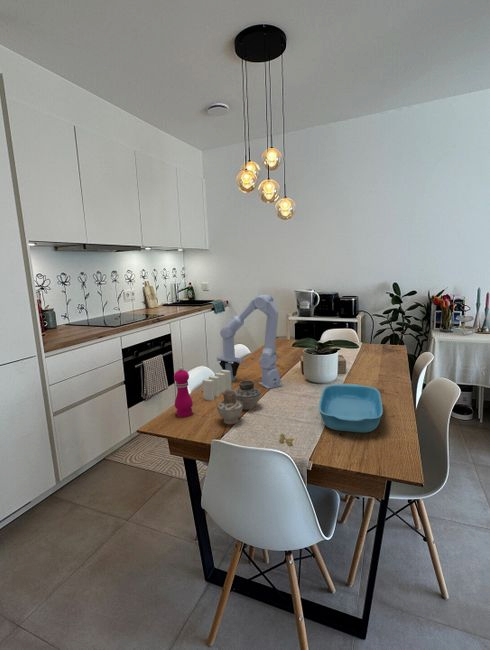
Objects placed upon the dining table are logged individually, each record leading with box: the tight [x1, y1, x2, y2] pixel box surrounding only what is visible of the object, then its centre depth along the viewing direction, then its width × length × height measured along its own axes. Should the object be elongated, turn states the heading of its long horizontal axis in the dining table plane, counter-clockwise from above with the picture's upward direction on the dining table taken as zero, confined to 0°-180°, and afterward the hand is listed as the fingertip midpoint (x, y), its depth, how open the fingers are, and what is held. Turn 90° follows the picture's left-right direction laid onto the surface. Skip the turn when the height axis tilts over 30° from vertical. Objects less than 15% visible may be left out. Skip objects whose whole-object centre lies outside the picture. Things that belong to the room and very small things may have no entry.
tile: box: [214, 372, 227, 394], centre depth 165 cm, size 2×5×9 cm, turn 60°
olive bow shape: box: [278, 433, 294, 447], centre depth 118 cm, size 5×5×2 cm
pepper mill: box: [173, 366, 194, 418], centre depth 141 cm, size 7×7×20 cm
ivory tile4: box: [208, 375, 221, 398], centre depth 161 cm, size 2×5×9 cm, turn 60°
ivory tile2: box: [220, 369, 233, 390], centre depth 169 cm, size 2×5×9 cm, turn 60°
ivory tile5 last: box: [202, 378, 215, 402], centre depth 156 cm, size 2×5×9 cm, turn 60°
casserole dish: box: [318, 383, 384, 434], centre depth 134 cm, size 37×22×7 cm, turn 163°
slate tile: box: [225, 362, 236, 382], centre depth 180 cm, size 2×5×9 cm, turn 60°
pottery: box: [216, 379, 262, 425], centre depth 140 cm, size 11×25×12 cm, turn 153°
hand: (230, 375), depth 181 cm, fingers closed on slate tile, 5 cm apart
